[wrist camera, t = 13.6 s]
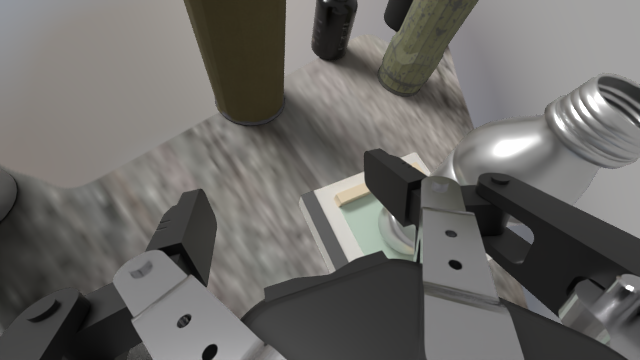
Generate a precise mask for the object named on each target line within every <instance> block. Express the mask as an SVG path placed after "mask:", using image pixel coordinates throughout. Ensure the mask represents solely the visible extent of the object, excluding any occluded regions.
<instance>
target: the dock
mask: <svg viewBox="0 0 640 360" xmlns="http://www.w3.org/2000/svg"><path fill="white" fill-rule="evenodd" d="M401 159H402V160H404V161H406V162H407V163H409V164H410V165H412V167H415V168H416V169H418V170H419V171H421V172H422V173H424V174H425V175H427V176H429V175H430V174H431V173H430V171H429V170H428V169H427V167H426V166H425V164H424V163H423V162H422V160H421V159H420V157H419V156H418V155H417V153H416V152H414V153H412V154H409V155H406V156H404V157H401ZM299 206H300V209H301V211H302V213H303V215H304V217H305V220H306V222H307V224H308V226H309V228H310V230H311V233H312V235H313V237H314V239H315V241H316V244H317V246H318V248H319V250H320V252H321V254H322V257H323V259H324V261H325V263H326V265H327V268H328V270H329V272H330V274H331V273H333V272H334V271H336V270H338V269H339V268H341V267H343V266H344V265H346V264H348V263H349V262H351V261H352V260H354V259H356V258H359V257H362V256H365V255H369V254H372V253H375V252H378V251H381V250H382V251H383V252H384V254H385V255H386V256H387V258H388V259H391V258H392V259H405V260H410V261H413V258H414V255H406V254H402V253H400V252H397V251H396V250H394V249H393V248H391V247H390V246H389V245H388V244H387V243H386V241H385V240H384V239H383V237H382V235H381V233H380V230H379V226H378V217H379V213H380V211H381V210H382V208H383V205H382V204H381V203H380V201H379V200H378V199H377V198H376V197H375V196H374V195H373V194H372V193H371V192H370V191H369V189H368V188H367V186H366V184H365V180H364V172H362V173H359V174H357V175H354V176H351V177H349V178H346V179H344V180H341V181H338V182H336V183H333V184H331V185H328V186H325V187H323V188H320V189H318V190H315V191H311V192H308V193H306V194H303V195H301V197H300V201H299ZM486 256H487V260H488V261H489V260H490V259H492V258H491V257H490V256H489V255H488V254H487V253H486Z"/></svg>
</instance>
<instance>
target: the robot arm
mask: <svg viewBox="0 0 640 360" xmlns="http://www.w3.org/2000/svg"><path fill="white" fill-rule="evenodd" d="M364 180H365V184H366V186H367V188H368V189H369V191H370V192H371V193H372V194H373V195H374V196H375V197H376V198H377V199H378V200H379V201H380V203H381V204H382V205H383V206H384V207H385V208H386V209H387V210H388V211H389V212H390V213H391V214H392V216H393V217H394V218H395V219H396V220H397V221H398V222H399V223H400V224H401V225H402V226H403V227H407V226H410V225H413V224H414V225H415V236H414V258H413V261H410V260H405V259H392V258H391V259H388V258H387V256H386V255H385V254H384V252H383V251H382V250H381V251H378V252H375V253H372V254H369V255H365V256H362V257H359V258H356V259H354V260H352V261H351V262H349V263H348V264H346V265H344V266H343V267H341V268H339V269H338V270H336V271H334V272H333V273H331V274H329V275H323V276H312V277H301V278H294V279H291V280H288V281H285V282H281V283H278V284H275V285H272V286H269V287H266V288H264V292H265V299H264V300H262V301H261V302H259V303H258V304H257V305H255V306H254V307H253V308H251V309H250V310H249V311H248V312H247V313H246V314H245V315H244V316H243V317H242V318H241V319H240V320H239V319H238V318H237V317H236V316H235V315H234V314H233V313H232V312H231V311H230V310H229V309H228V308H227V307H226V306H225V305H223V304H222V303H221V302H220V301H219V300H218V299H217V298H216V297H215V296H214V295H213V294H212V293H211V292H210V291H209V290H208V289H207V288H206V287H207V285H208V279H209V273H210V267H211V261H212V255H213V249H214V243H215V237H216V231H217V222H216V218H215V215H214V212H213V210H212V208H211V206H210V203H209V201H208V199H207V197H206V194H205V192H204V191H203V190H202V189H197V190H193V191H188V192H184V193H183V194H182V196H181V198H180V200H179V202H178V204H177V205H175V206H172V207H171V208H170V209H169V210H168V211H167V212H166V213H165V214H164V216H163V218H162V219H161V221H160V224H159V225H158V227H157V229H156V230H157V231H155V233H154V235H153V237H152V239H151V241H150V243H149V245H148V247H147V249H146V251H145V252H144V253H142V254H139V255H137V256H136V257H134V258H132V259H131V260H129V261H128V262H126V263H125V264H124V265H123V266H122V267H121V268H120V269H119V270H118V271H117V273H116V274H115V276H114V279H113V282H112V283H110V284H108V285H106V286H104V287H102V288H100V289H98V290H96V291H94V292H92V293H90V294H87V295H85V296H83V295H82V294H81V293H80V292H79V291H78V290H77V289H75V288H66V289H62V290H59V291H56V292H54V293H51V294H49V295H47V296H45V297H43V298H42V299H40V300H38V301H37V302H35V303H34V304H32V305H31V306H30V307H28V308H27V309H26V310H24V311H23V312H22V313H21V314H20V315H19V316H18V317H17V318H16V319H15V320H14V321H13V322H12V323H11V325H10V326H9V327H8V328H7V330H6V331H5V332H4V333H3V334H2V336H1V337H0V360H126V359H127V356H128V353H129V350H130V349H131V348H133V347H134V346H136V345H138V344H139V343H141V342H143V343H144V345H145V346H146V348H147V350H148V351H149V353H150V355H151V357H152V358H153V360H640V239H639V238H637V237H635V236H633V235H631V234H629V233H627V232H625V231H623V230H621V229H619V228H617V227H615V226H613V225H610V224H608V223H606V222H604V221H602V220H600V219H598V218H596V217H594V216H592V215H590V214H588V213H586V212H584V211H582V210H580V209H578V208H575V207H573V206H572V205H570V204H568V203H566V202H563V201H561V200H559V199H557V198H555V197H553V196H551V195H549V194H547V193H545V192H543V191H541V190H539V189H537V188H535V187H533V186H531V185H529V184H527V183H525V182H523V181H521V180H519V179H516V178H514V177H512V176H509V175H506V174H502V173H484V174H481V175H480V176H479V177H478V180H477V184H476V185H464V186H460V185H459V184H458V183H457V182H456V181H455V180H453V179H451V178H448V177H443V176H430V177H428V176H427V175H425V174H424V173H422V172H421V171H419V170H418V169H416V168H415V167H412V165H410V164H409V163H407V162H406V161H404V160H402V159H401V158H399V157H396V156H392V155H389V154H388V153H386V152H385V151H383V150H382V149H380V148H378V149H374V150H370V151H366V152H365V153H364ZM16 194H17V187H16V183H15V181H14V179H13V177H11V176H10V175H9V174H8V173H7V172H5V171H2V170H0V221H1V220H2V219H3V218H4V217H5V216H6V215H7V213H8V212H9V210H10V209H11V208H12V206H13V203H14V201H15V199H16ZM510 216H512V217H514V218H515V219H517V220H519V221H520V222H522V223H523V224H525V225H526V226H528V227H529V228H530V229H531V231H532V232H533V234H534V242H533V244H532V245H531V244H530V243H528V242H527V241H525V240H524V239H523V238H521V237H520V236H518V235H517V234H516V233H514V232H513V231H511V230H510V229H508V228H507V227H506V226H507V223H508V221H509V218H510ZM486 253H487V254H488V255H489V256H490V257H491V258H492V259H493V260H494V261H496V262H497V263H498V264H499V265H500V266H501V267H502V268H503V269H505V270H506V271H507V272H508V273H509V274H510V275H511V276H512V277H514V278H515V279H516V280H517V281H518V282H519V283H520V284H521V285H523V286H524V287H525V288H526V289H527V290H528V291H529V292H531V293H532V294H533V295H534V296H535V297H536V298H537V299H538V300H540V301H541V302H542V303H543V304H544V305H545V306H546V307H547V308H549V309H550V310H551V311H552V312H553V313H554V314H555V315H556V316H558V317H559V318H560V320H561V322H562V324H563V325H562V324H560V323H558V322H555V321H553V320H551V319H548V318H546V317H544V316H541V315H539V314H537V313H534V312H532V311H530V310H528V309H525V308H523V307H521V306H518V305H516V304H514V303H511V302H509V301H507V300H504V299H502V298H500V297H498V295H497V291H496V288H495V284H494V281H493V277H492V274H491V270H490V267H489V263H488V260H487V256H486Z"/></svg>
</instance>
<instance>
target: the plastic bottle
mask: <svg viewBox="0 0 640 360" xmlns="http://www.w3.org/2000/svg"><path fill="white" fill-rule="evenodd" d="M638 158H640V84H638V83H636V82H634V81H632V80H630V79H627V78H625V77H622V76H619V75H616V74H610V73H602V74H599V75H598V76H596V77H593V78H591V79H590V80H588V81H587V82H585V83H584V84H582V85H581V86H580V87H578V88H576V89H575V90H573V91H572V92H571V93H569V94H567V95H564V96H560V97H559V98H557V99H556V100H554V101H553V102H551V103H550V104H548V105H547V107H546V108H545V114H543V115H536V116H523V117H513V118H508V119H502V120H496V121H492V122H489V123H487V124H485V125H482V126H480V127H478V128H476V129H474V130H472V131H471V132H469V133H468V134H467V135H466V136H465V137H464V138H463V139H462V140H461V141H460V142H459V144H458V145H457V146H456V147H455V148H454V149H453V151H452V152H451V153H450V154H449V155H448V156H447V158H446V159H445V160H444V161H443V162H442V163H441V165H440V166H439V167H438V168H436V169H435V170H434V171H433V172H432V173H431V174H430V175H429V176H428V177H430V176H443V177H448V178H451V179H453V180H455V181H456V182H457V183H458V184H459V185H460V186H464V185H476V184H477V180H478V177H479V176H480V175H481V174H484V173H502V174H506V175H509V176H512V177H514V178H516V179H519V180H521V181H523V182H525V183H527V184H529V185H531V186H533V187H535V188H537V189H539V190H541V191H543V192H545V193H547V194H549V195H551V196H553V197H555V198H557V199H559V200H561V201H563V202H566V203H568V204H570V205H572V206H573V205H574V204H575V203H576V202H577V200H578V199H579V198H580V196H581V195H582V194H583V193H584V192H585V191H586V189H587V188H588V187H589V185H590V183H591V181H592V180H593V178H594V176H595V175H596V173H597V171H598V169H599V168H601V167H603V168H609V169H615V168H620V167H623V166H626V165H628V164H631V163H633V162H635V161H636V160H637V159H638ZM522 224H523V223H522V222H520V221H519V220H517V219H515V218H514V217H512V216H510V218H509V221H508V223H507V226H514V225H522ZM378 226H379V230H380V233H381V235H382V237H383V239H384V240H385V241H386V243H387V244H388V245H389V246H390V247H391V248H393V249H394V250H396V251H397V252H400V253H402V254H406V255H414V236H415V225H414V224H413V225H410V226H407V227H403V226H402V225H401V224H400V223H399V222H398V221H397V220H396V219H395V218H394V217H393V216H392V214H391V213H390V212H389V211H388V210H387V209H386V208H385V207H384V206H383V208H382V210H381V211H380V213H379V217H378ZM507 226H506V227H507Z"/></svg>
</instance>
